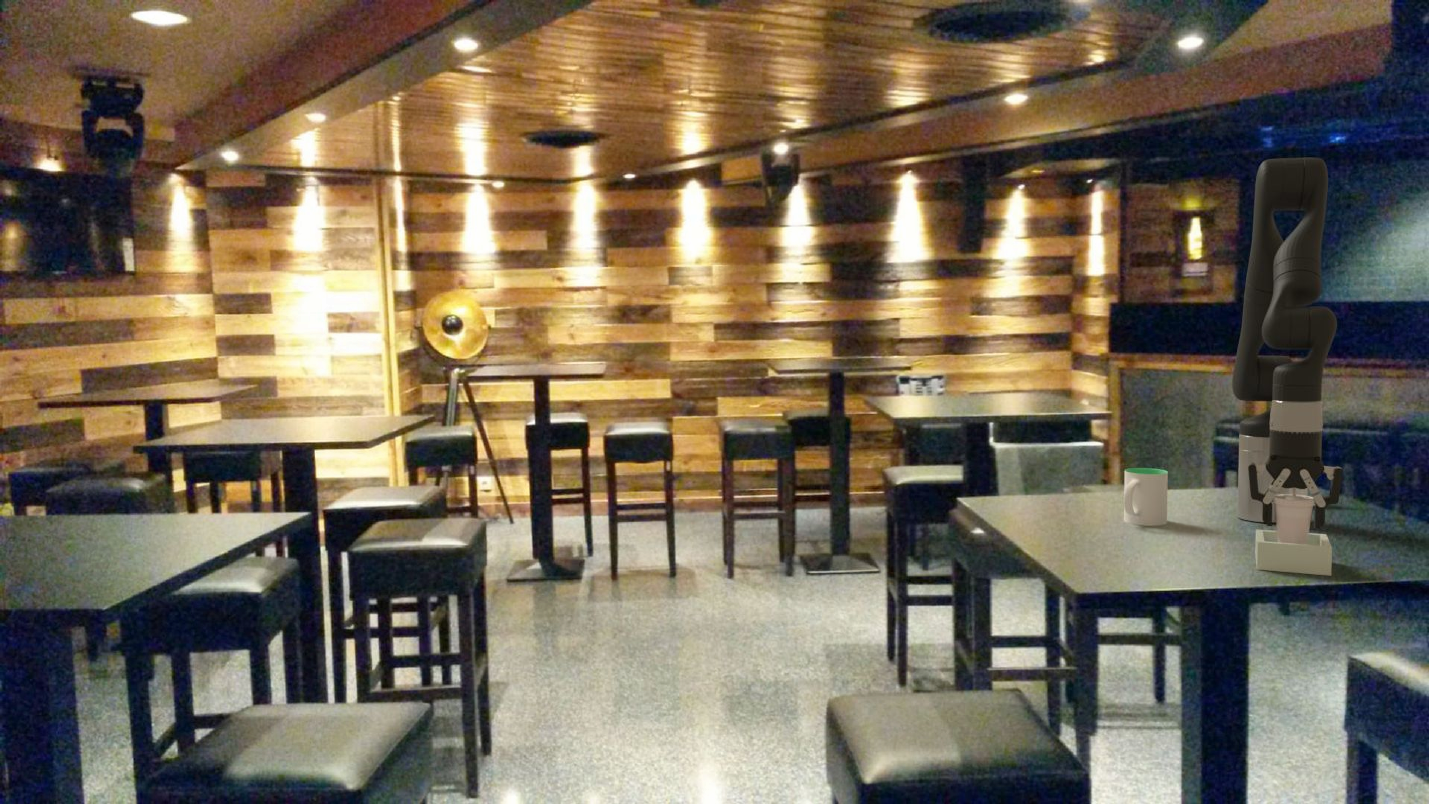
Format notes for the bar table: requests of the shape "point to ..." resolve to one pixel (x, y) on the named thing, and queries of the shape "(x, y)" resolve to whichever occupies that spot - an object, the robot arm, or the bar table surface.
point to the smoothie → (1293, 517)
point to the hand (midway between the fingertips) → (1292, 526)
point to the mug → (1145, 496)
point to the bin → (1293, 554)
